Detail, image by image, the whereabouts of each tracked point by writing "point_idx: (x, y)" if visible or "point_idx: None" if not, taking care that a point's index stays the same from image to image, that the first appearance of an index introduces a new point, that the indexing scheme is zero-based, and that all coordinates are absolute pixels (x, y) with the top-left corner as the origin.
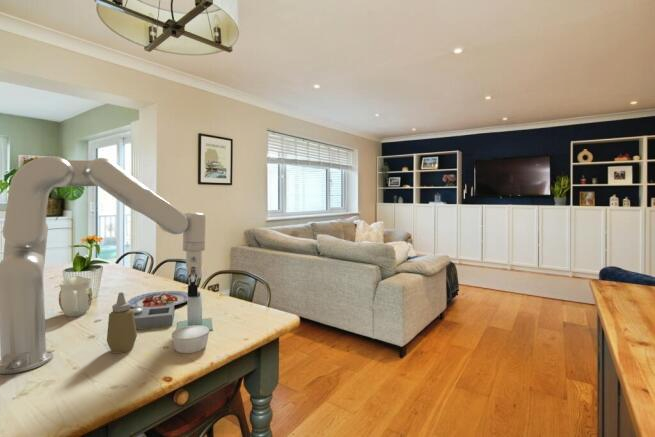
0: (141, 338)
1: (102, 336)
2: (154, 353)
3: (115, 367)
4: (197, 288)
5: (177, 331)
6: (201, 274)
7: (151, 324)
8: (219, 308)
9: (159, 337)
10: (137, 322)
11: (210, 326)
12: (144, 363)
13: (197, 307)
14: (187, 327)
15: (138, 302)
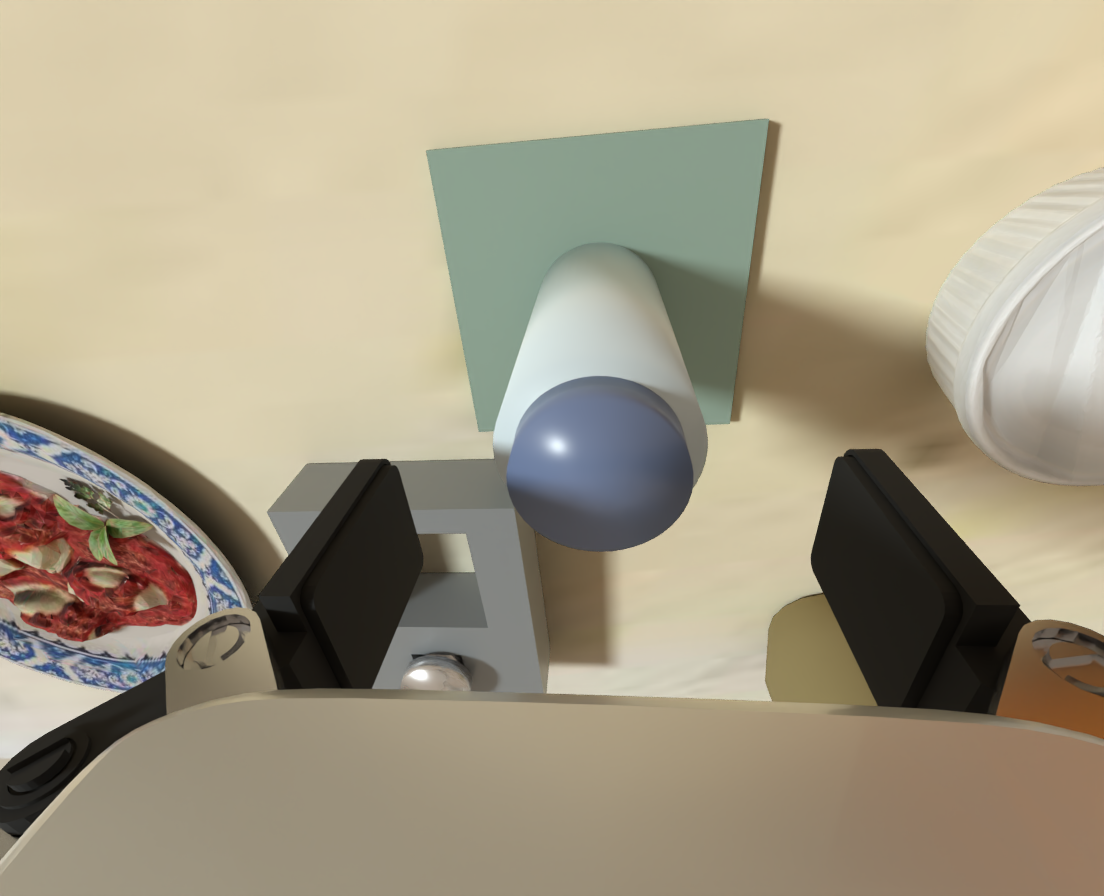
0: (700, 575)
1: (603, 693)
2: (983, 500)
3: (1032, 618)
4: (961, 541)
5: (1006, 448)
6: (852, 821)
7: (535, 567)
8: (70, 65)
9: (728, 502)
10: (541, 636)
11: (683, 149)
12: (1095, 527)
13: (679, 349)
14: (981, 382)
15: (122, 649)
